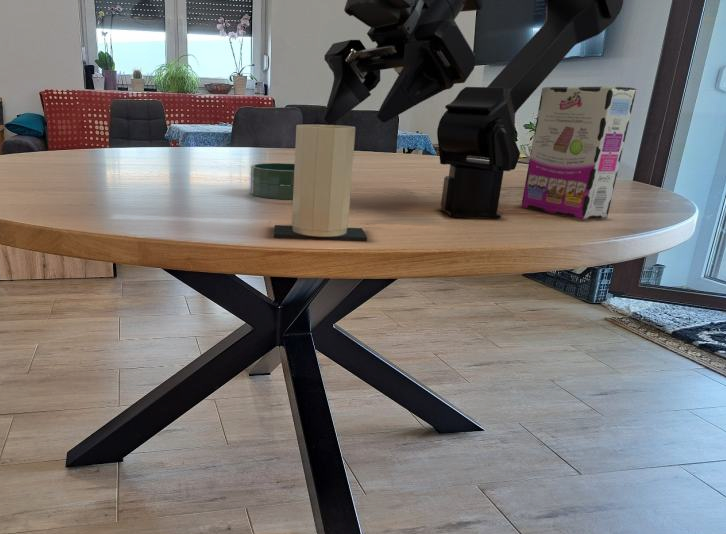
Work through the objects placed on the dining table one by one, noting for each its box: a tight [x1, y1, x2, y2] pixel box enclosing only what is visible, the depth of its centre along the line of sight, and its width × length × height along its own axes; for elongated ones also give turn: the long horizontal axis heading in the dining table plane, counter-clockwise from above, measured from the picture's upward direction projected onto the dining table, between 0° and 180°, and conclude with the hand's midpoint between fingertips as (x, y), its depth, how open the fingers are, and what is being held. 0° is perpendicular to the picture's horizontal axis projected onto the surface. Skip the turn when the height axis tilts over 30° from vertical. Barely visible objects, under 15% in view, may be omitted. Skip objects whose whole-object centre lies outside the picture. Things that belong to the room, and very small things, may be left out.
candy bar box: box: [520, 86, 637, 221], centre depth 86 cm, size 11×5×16 cm, turn 25°
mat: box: [273, 224, 368, 242], centre depth 71 cm, size 10×5×1 cm, turn 88°
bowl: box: [249, 162, 295, 201], centre depth 93 cm, size 10×10×4 cm
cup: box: [291, 124, 356, 237], centre depth 68 cm, size 6×6×11 cm
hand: (351, 121), depth 68 cm, fingers open, 9 cm apart
